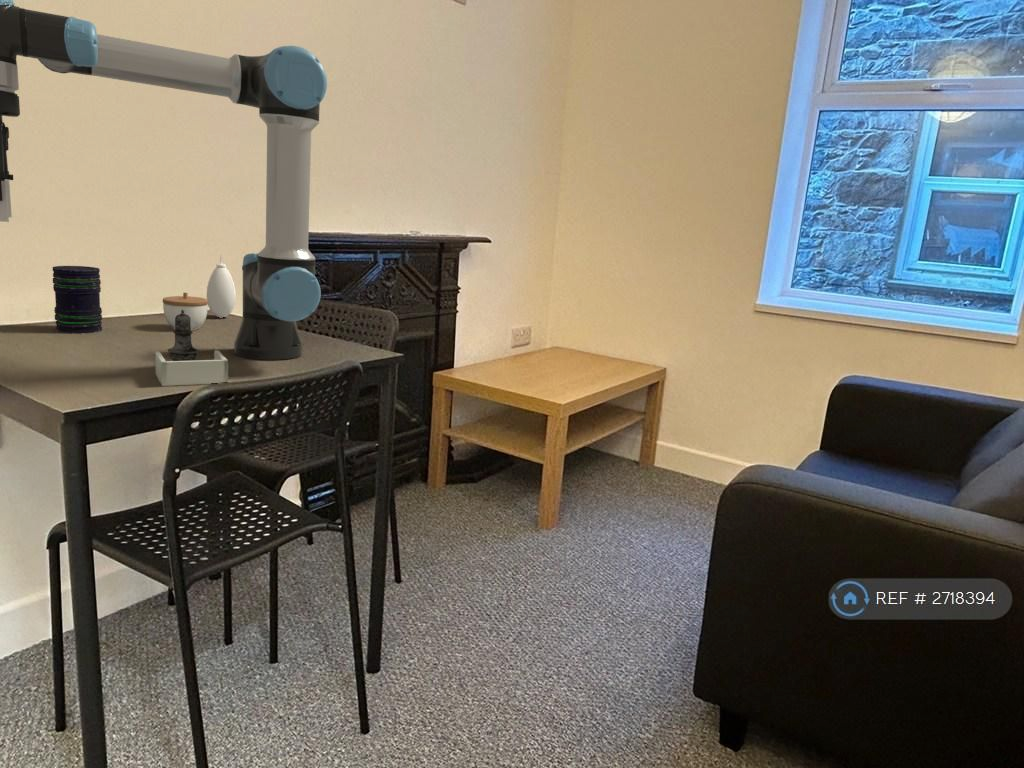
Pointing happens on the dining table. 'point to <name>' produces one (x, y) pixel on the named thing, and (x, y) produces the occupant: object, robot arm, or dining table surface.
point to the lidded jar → (185, 309)
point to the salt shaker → (182, 340)
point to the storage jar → (77, 299)
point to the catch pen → (191, 371)
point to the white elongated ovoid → (221, 291)
